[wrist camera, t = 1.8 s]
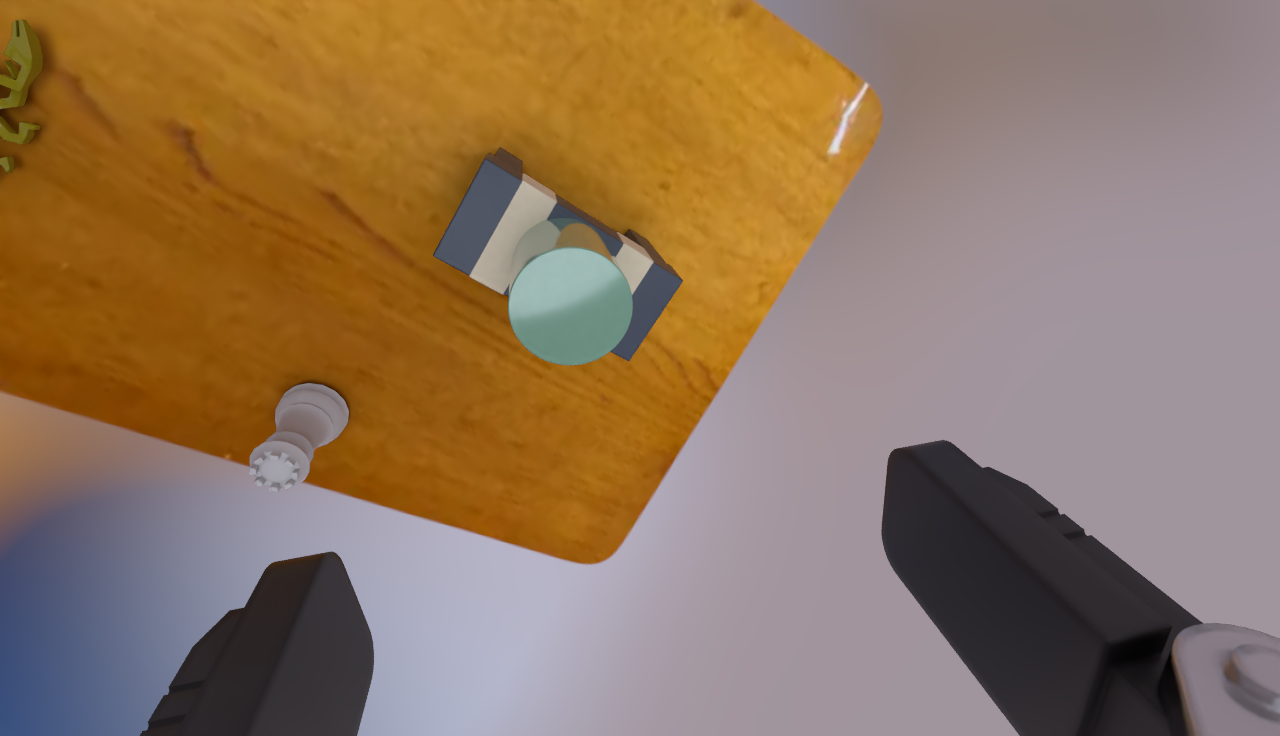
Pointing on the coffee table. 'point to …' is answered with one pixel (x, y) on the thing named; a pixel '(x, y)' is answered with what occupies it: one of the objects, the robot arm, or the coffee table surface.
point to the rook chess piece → (298, 435)
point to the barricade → (516, 204)
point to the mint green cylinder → (567, 293)
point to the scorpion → (19, 83)
